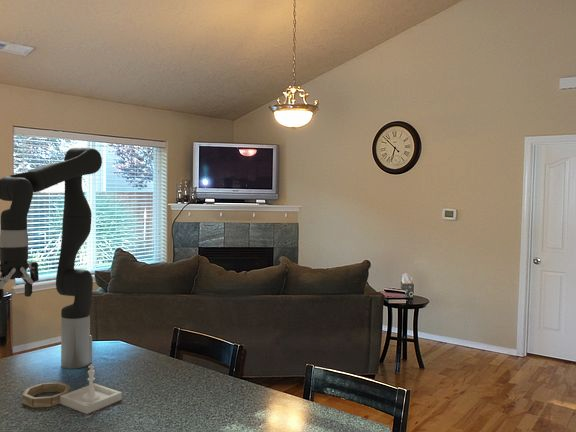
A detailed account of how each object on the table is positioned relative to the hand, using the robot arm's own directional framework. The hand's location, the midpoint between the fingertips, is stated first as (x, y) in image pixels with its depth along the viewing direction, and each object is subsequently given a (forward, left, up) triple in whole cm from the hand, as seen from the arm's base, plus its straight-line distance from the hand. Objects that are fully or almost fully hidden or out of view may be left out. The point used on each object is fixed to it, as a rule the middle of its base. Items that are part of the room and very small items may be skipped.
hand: (14, 298), depth 160 cm
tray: (-8, +25, -28) cm, 38 cm away
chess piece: (-8, +25, -27) cm, 38 cm away
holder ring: (-2, +13, -28) cm, 31 cm away
